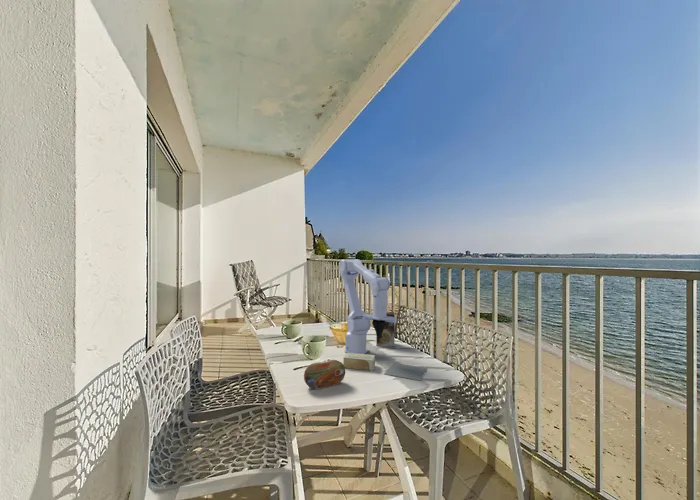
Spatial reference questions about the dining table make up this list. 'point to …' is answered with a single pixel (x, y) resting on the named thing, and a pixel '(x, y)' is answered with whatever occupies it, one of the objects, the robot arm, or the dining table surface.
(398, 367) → the mat
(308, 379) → the tin
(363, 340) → the robot arm
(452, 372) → the dining table surface
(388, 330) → the coffee box
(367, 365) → the skincare box
